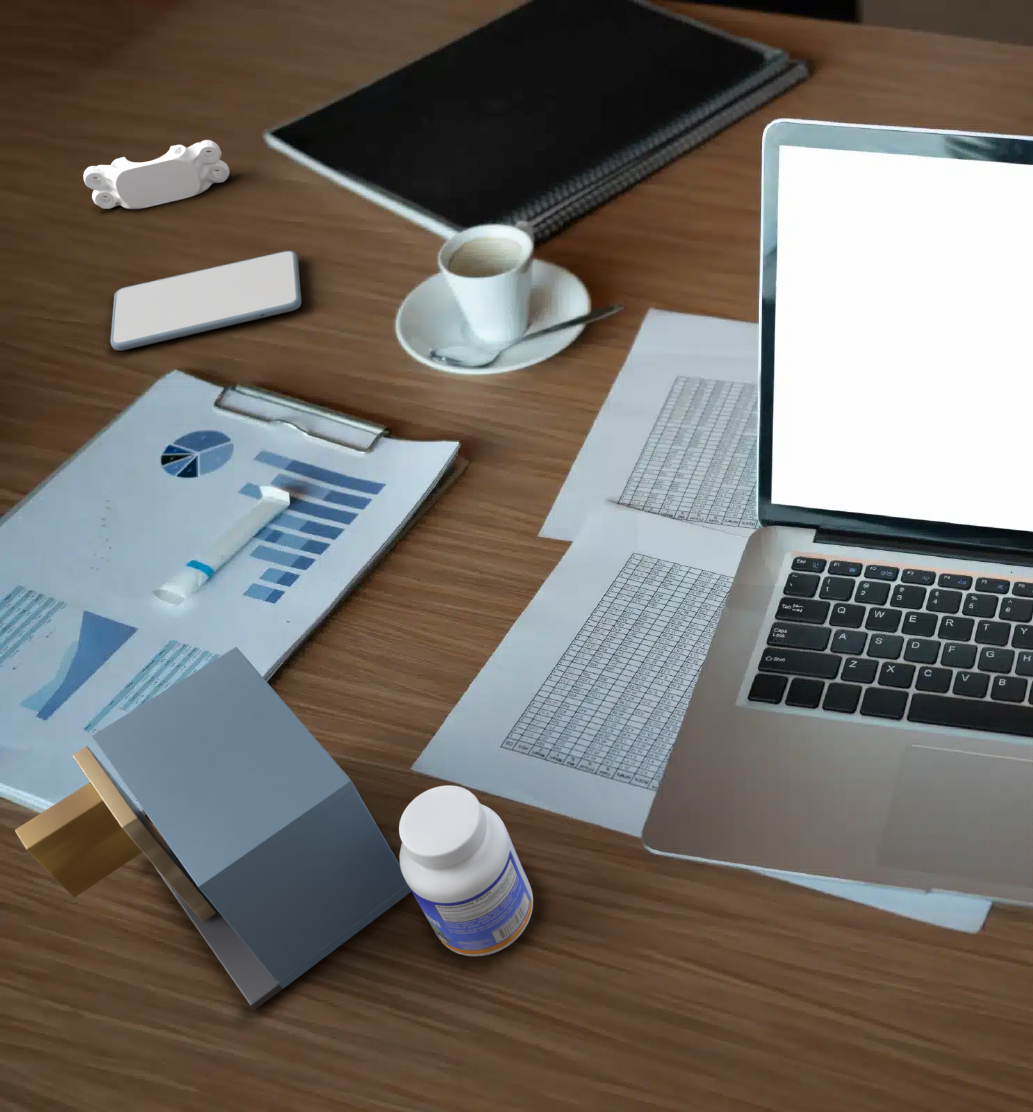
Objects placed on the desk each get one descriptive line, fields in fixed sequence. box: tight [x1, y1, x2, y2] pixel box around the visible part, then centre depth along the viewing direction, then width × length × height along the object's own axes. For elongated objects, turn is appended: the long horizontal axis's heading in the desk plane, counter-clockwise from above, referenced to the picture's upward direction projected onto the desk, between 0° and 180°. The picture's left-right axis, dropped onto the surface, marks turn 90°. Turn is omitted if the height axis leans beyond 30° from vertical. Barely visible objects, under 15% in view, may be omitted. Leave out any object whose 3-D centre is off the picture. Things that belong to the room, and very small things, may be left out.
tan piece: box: [14, 745, 216, 922], centre depth 67 cm, size 5×6×10 cm
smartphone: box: [109, 250, 302, 351], centre depth 109 cm, size 8×1×15 cm
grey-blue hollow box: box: [91, 646, 412, 1010], centre depth 69 cm, size 10×12×11 cm
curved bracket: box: [82, 139, 231, 210], centre depth 120 cm, size 12×2×4 cm, turn 112°
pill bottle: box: [398, 784, 534, 957], centre depth 67 cm, size 5×5×10 cm
